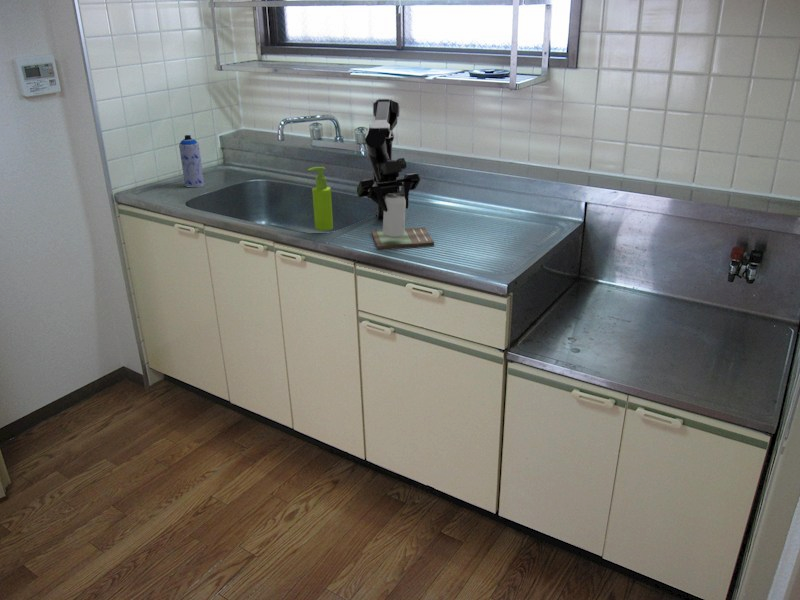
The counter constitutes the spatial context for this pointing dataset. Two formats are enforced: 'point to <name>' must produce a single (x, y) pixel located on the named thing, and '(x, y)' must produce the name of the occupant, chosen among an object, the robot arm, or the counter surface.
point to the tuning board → (403, 239)
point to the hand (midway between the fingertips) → (397, 209)
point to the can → (394, 215)
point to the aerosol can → (191, 162)
